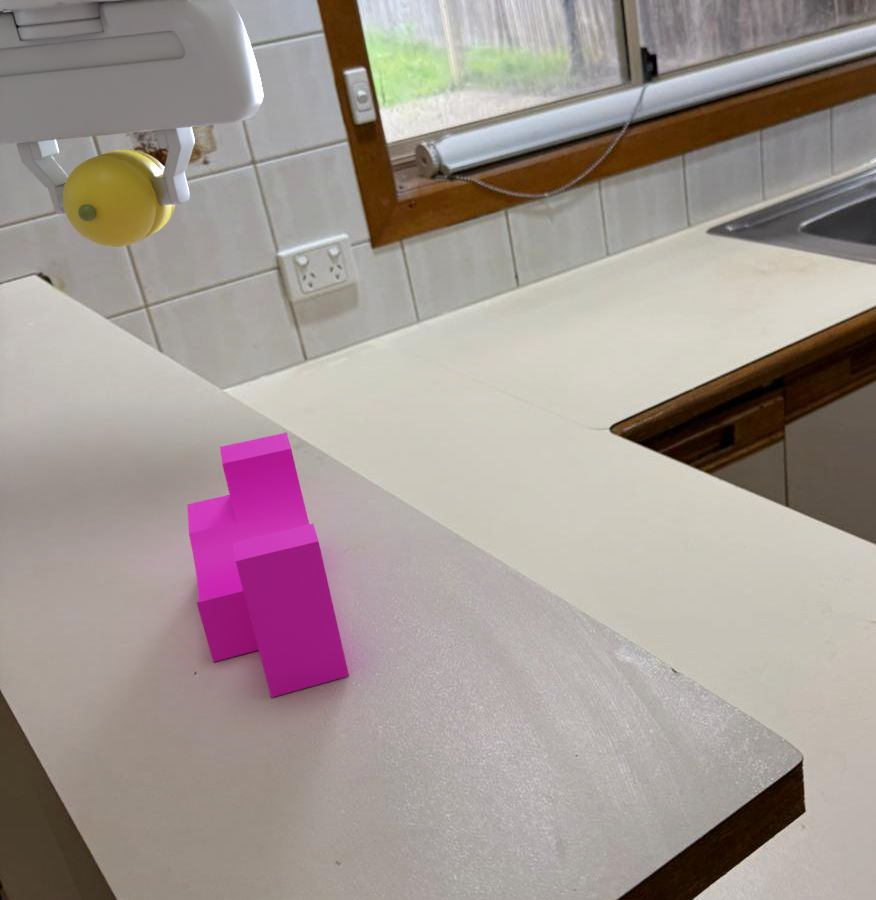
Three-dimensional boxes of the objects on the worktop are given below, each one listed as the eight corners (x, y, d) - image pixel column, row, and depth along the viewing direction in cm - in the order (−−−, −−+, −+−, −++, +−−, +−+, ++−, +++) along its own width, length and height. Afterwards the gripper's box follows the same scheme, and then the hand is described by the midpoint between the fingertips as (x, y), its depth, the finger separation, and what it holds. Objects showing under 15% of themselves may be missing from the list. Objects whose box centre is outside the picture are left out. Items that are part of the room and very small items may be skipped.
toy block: (205, 572, 67) (174, 456, 64) (312, 546, 69) (286, 432, 66) (217, 712, 54) (178, 575, 51) (348, 675, 56) (318, 541, 53)
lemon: (139, 257, 69) (114, 163, 66) (53, 263, 69) (25, 171, 67) (205, 220, 78) (185, 136, 75) (128, 226, 78) (106, 143, 76)
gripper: (-136, -6, 65) (-56, 231, 71) (201, -45, 63) (256, 205, 68) (-68, -11, 71) (1, 209, 77) (244, -47, 69) (292, 184, 74)
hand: (124, 207), depth 73 cm, fingers closed on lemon, 5 cm apart
